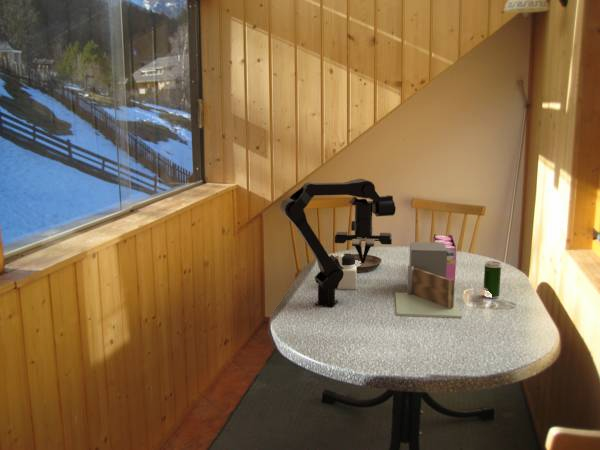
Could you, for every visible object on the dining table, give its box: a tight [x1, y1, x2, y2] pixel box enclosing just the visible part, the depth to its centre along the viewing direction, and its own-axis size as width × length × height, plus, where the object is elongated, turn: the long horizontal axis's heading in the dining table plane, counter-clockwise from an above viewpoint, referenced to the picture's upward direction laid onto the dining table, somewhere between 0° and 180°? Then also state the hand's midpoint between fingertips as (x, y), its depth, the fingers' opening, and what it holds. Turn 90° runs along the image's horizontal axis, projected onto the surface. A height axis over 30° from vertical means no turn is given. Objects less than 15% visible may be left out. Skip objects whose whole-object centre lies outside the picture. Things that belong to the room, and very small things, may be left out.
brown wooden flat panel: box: [413, 268, 456, 308], centre depth 211 cm, size 18×1×9 cm, turn 32°
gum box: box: [432, 233, 458, 282], centre depth 245 cm, size 24×8×14 cm, turn 171°
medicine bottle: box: [336, 253, 358, 290], centre depth 230 cm, size 7×7×12 cm
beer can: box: [482, 260, 502, 300], centre depth 218 cm, size 5×5×12 cm
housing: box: [395, 241, 463, 319], centre depth 214 cm, size 34×20×16 cm, turn 172°
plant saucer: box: [335, 253, 382, 273], centre depth 257 cm, size 21×21×3 cm
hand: (362, 263), depth 213 cm, fingers closed
